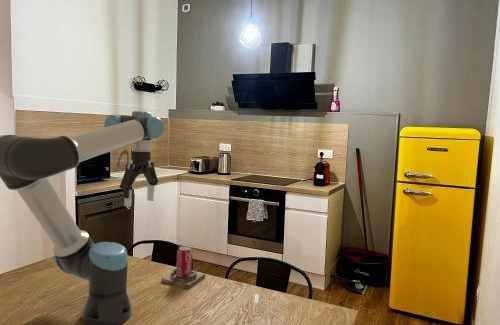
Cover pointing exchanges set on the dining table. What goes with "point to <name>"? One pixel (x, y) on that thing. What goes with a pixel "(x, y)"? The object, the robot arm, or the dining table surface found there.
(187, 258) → the beverage can
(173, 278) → the socket board
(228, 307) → the dining table surface
